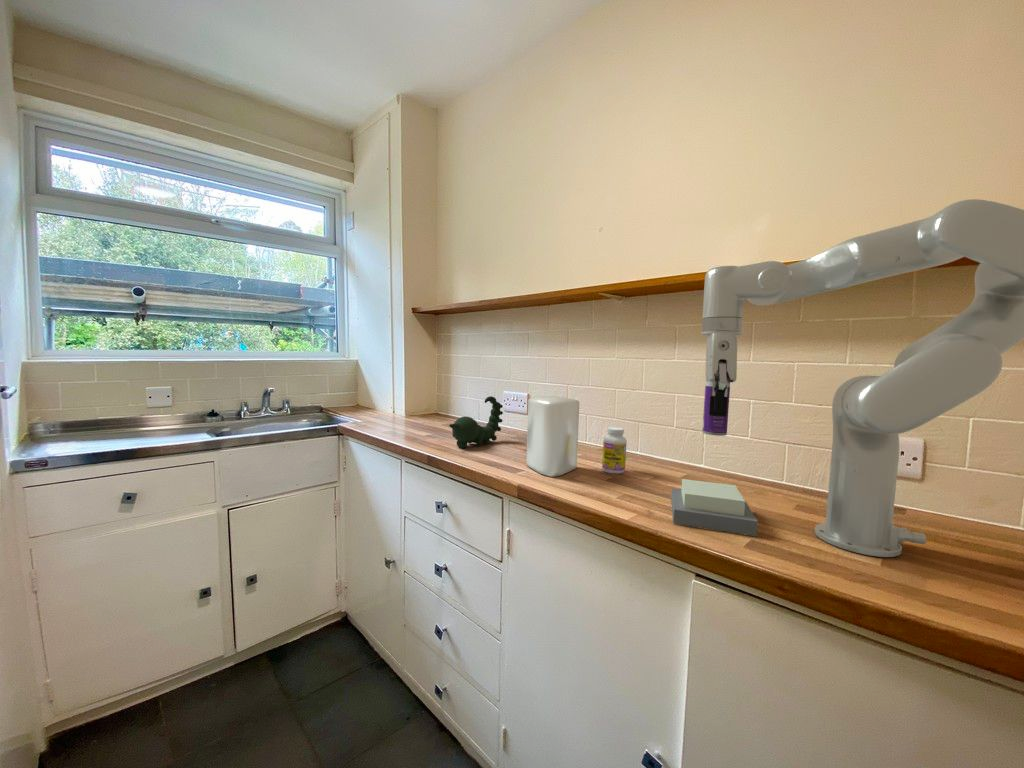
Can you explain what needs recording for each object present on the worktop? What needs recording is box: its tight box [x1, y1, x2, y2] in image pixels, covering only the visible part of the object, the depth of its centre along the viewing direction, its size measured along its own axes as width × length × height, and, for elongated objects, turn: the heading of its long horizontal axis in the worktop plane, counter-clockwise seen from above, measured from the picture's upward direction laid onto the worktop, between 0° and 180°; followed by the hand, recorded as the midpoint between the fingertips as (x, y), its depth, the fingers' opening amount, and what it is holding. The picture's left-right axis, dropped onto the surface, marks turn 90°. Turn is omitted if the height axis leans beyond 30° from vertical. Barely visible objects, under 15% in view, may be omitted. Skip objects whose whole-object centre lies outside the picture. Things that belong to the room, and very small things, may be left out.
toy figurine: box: [448, 395, 504, 449], centre depth 151 cm, size 9×19×25 cm
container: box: [702, 372, 731, 437], centre depth 87 cm, size 5×5×15 cm
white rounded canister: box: [525, 395, 580, 478], centre depth 120 cm, size 15×14×22 cm
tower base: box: [670, 478, 759, 537], centre depth 88 cm, size 15×15×6 cm
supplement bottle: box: [601, 426, 628, 475], centre depth 122 cm, size 7×7×13 cm
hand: (715, 413), depth 87 cm, fingers closed on container, 4 cm apart
